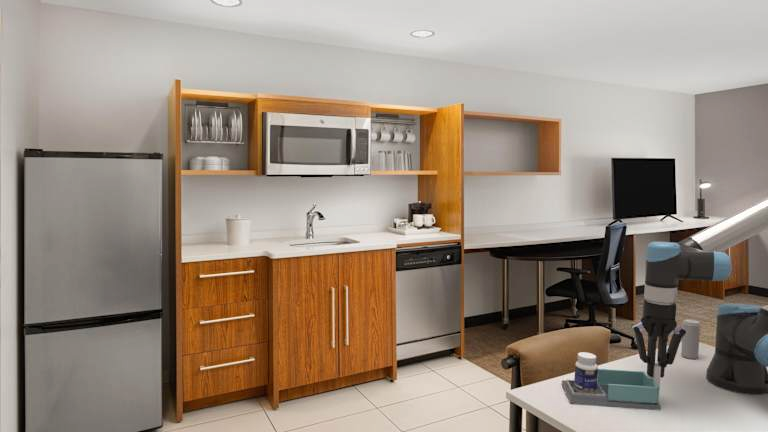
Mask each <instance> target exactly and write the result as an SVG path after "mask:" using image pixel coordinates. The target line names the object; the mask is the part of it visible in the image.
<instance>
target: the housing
mask: <svg viewBox="0 0 768 432" xmlns="http://www.w3.org/2000/svg"><path fill="white" fill-rule="evenodd" d="M597 382H598V383H600V384H608V398H607V399H608V400H620V401H634V402H648V403H659V404H660V402H659V401H660V390H659V387H658V386H657V385H656V384H655V383H654V382H653V380H652V379H651V378H650V377H649V376H648V375H647V372H645V371H643V370H642V371H641V370H640V371H639V370H626V369H624V370H623V369H611V368H610V369H607V368H606V369H605V368H598V375H597Z"/></svg>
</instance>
